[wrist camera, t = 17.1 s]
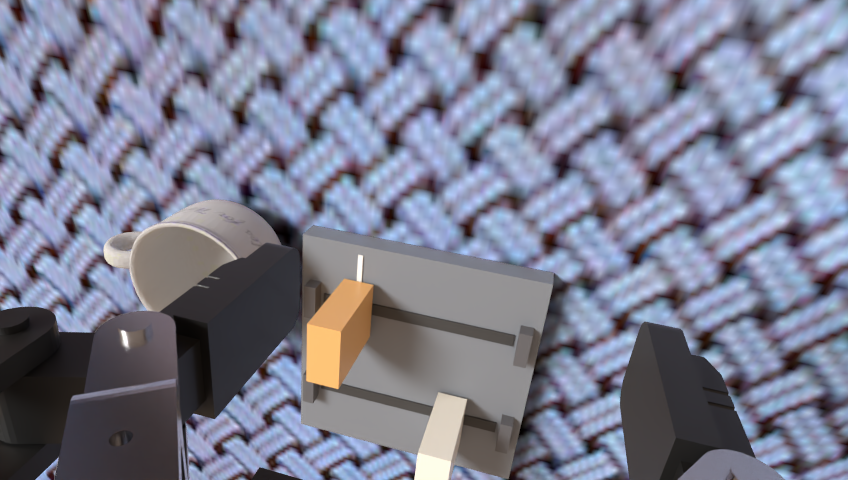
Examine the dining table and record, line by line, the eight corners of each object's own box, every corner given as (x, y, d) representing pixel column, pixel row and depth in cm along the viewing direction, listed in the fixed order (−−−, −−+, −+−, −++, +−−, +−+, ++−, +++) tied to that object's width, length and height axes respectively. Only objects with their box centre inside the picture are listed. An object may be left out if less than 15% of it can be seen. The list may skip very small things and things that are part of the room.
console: (553, 272, 42) (552, 292, 39) (510, 462, 50) (507, 489, 47) (313, 225, 45) (296, 240, 43) (310, 409, 54) (295, 432, 51)
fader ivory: (467, 399, 46) (451, 461, 39) (459, 443, 48) (443, 509, 42) (438, 392, 46) (417, 452, 40) (431, 436, 48) (411, 500, 42)
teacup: (316, 224, 45) (269, 265, 38) (281, 320, 50) (234, 372, 43) (171, 150, 46) (98, 177, 39) (151, 252, 51) (82, 292, 44)
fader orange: (373, 284, 43) (340, 331, 37) (369, 336, 46) (338, 389, 39) (344, 278, 44) (307, 323, 38) (341, 330, 46) (306, 381, 40)
